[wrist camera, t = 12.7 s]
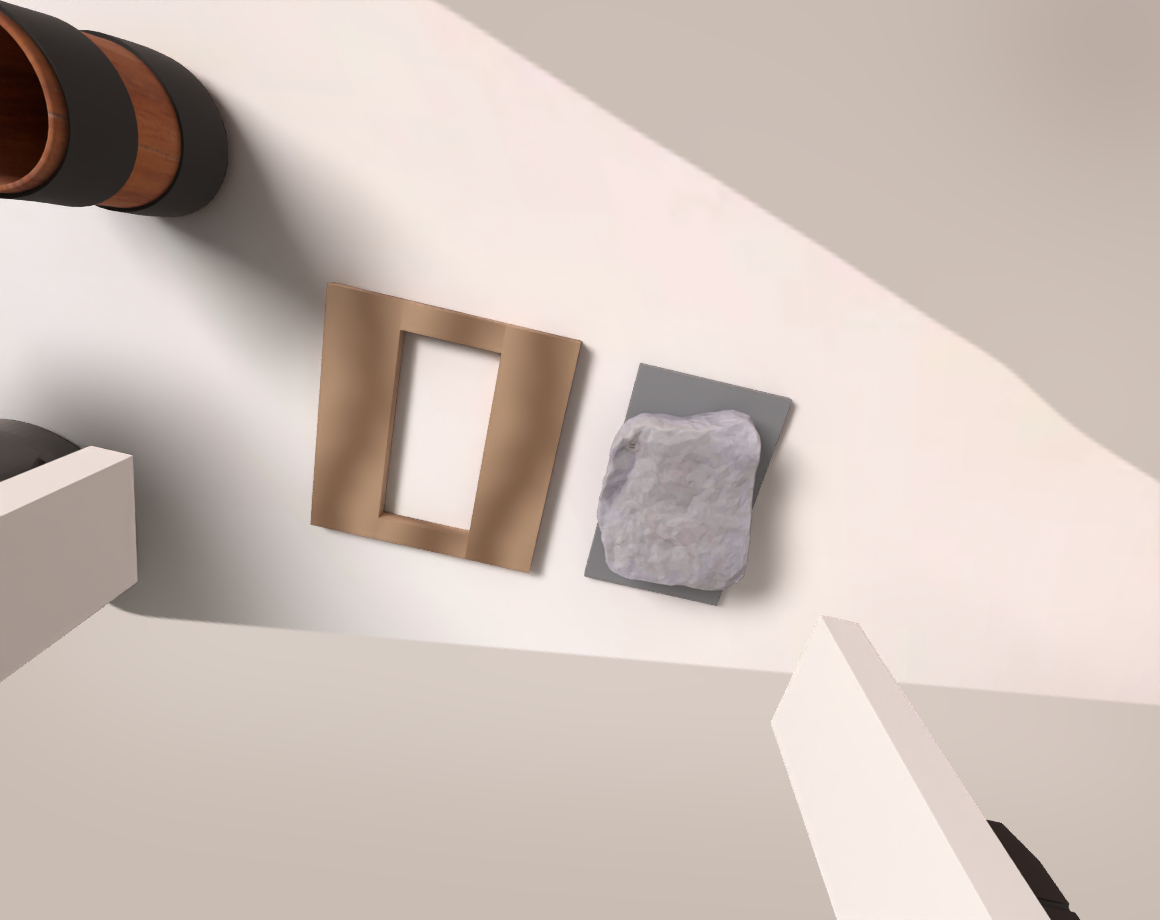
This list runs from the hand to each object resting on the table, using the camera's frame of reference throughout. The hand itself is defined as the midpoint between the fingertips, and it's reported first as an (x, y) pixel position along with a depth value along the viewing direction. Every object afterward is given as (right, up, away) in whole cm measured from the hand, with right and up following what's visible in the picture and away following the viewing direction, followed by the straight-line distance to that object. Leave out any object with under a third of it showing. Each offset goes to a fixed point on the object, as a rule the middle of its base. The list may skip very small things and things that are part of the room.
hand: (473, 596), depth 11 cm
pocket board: (-8, +4, +29) cm, 30 cm away
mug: (-24, +22, +24) cm, 40 cm away
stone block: (+8, +1, +29) cm, 31 cm away
